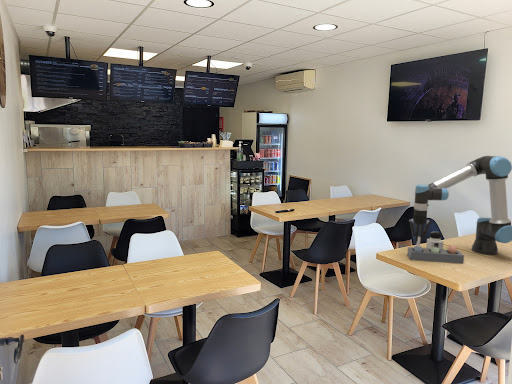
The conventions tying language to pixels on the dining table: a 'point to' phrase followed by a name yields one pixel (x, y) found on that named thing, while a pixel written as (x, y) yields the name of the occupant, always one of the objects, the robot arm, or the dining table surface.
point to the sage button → (435, 249)
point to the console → (435, 256)
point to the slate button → (417, 248)
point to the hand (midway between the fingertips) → (418, 246)
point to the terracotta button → (452, 249)
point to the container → (435, 240)
